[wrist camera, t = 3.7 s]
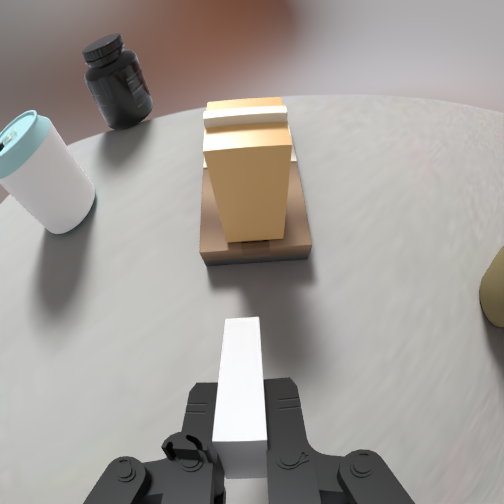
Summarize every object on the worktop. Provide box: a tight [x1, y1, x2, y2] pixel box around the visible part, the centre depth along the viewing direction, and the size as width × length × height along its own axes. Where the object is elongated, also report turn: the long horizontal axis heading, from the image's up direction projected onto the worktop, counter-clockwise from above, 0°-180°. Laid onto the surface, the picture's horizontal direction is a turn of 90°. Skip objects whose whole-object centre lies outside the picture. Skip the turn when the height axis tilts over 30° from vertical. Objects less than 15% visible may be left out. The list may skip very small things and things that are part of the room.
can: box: [0, 110, 95, 234], centre depth 21 cm, size 7×7×12 cm
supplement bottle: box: [82, 33, 153, 129], centre depth 27 cm, size 7×7×12 cm
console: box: [200, 121, 312, 266], centre depth 25 cm, size 16×8×3 cm, turn 3°
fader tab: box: [203, 97, 292, 243], centre depth 18 cm, size 4×4×11 cm
